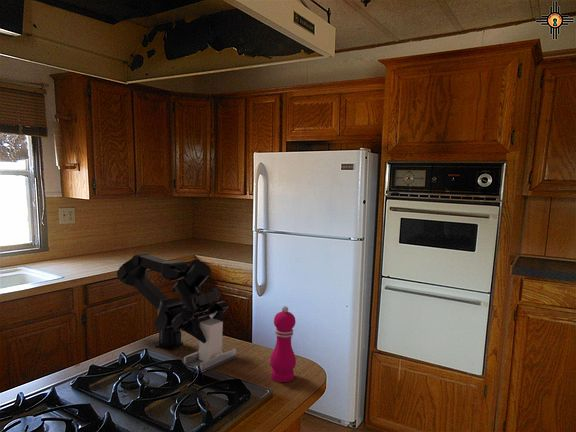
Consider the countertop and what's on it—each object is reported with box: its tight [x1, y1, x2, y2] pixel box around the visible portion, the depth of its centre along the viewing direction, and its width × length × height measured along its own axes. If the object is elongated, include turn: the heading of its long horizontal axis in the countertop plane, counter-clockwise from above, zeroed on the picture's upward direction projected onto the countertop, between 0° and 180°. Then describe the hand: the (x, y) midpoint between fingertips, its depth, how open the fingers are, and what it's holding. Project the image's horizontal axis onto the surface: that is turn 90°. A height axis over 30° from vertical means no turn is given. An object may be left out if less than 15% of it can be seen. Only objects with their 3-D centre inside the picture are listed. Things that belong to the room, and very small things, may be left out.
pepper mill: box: [269, 305, 297, 383], centre depth 108 cm, size 7×7×20 cm
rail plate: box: [182, 348, 237, 371], centre depth 117 cm, size 8×14×3 cm, turn 145°
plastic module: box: [198, 318, 224, 361], centre depth 117 cm, size 4×5×11 cm
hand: (214, 338), depth 116 cm, fingers open, 7 cm apart
